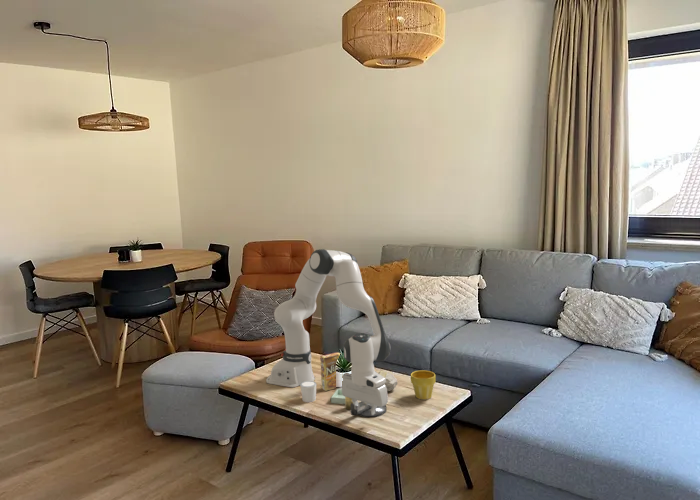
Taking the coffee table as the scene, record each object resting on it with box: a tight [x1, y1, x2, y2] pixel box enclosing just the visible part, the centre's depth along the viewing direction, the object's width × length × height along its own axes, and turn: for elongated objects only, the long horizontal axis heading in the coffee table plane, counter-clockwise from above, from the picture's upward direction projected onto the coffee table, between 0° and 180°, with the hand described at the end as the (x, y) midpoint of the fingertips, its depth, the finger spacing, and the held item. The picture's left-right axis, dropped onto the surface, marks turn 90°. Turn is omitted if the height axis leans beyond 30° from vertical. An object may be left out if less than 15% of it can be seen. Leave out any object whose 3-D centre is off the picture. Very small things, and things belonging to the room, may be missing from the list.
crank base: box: [356, 401, 388, 418], centre depth 211 cm, size 13×13×1 cm
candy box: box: [320, 351, 341, 392], centre depth 234 cm, size 9×4×15 cm, turn 120°
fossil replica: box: [377, 369, 398, 392], centre depth 231 cm, size 12×8×10 cm
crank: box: [350, 402, 372, 416], centre depth 207 cm, size 12×4×4 cm, turn 134°
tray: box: [330, 388, 346, 405], centre depth 222 cm, size 9×9×2 cm
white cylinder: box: [299, 381, 317, 403], centre depth 223 cm, size 7×7×7 cm
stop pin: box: [344, 397, 353, 411], centre depth 213 cm, size 4×4×6 cm
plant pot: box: [410, 369, 437, 401], centre depth 221 cm, size 10×10×10 cm
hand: (364, 411), depth 200 cm, fingers open, 6 cm apart
